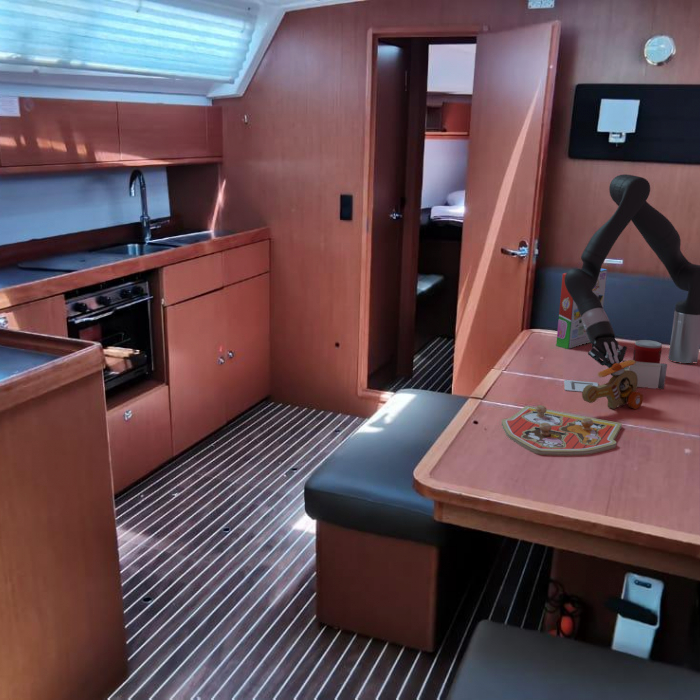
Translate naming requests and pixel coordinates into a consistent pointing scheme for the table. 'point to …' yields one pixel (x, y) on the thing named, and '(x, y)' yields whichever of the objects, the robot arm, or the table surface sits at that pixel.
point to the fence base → (649, 374)
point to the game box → (575, 315)
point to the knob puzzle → (560, 432)
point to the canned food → (647, 351)
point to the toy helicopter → (616, 387)
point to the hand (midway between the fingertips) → (617, 376)
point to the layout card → (577, 385)
